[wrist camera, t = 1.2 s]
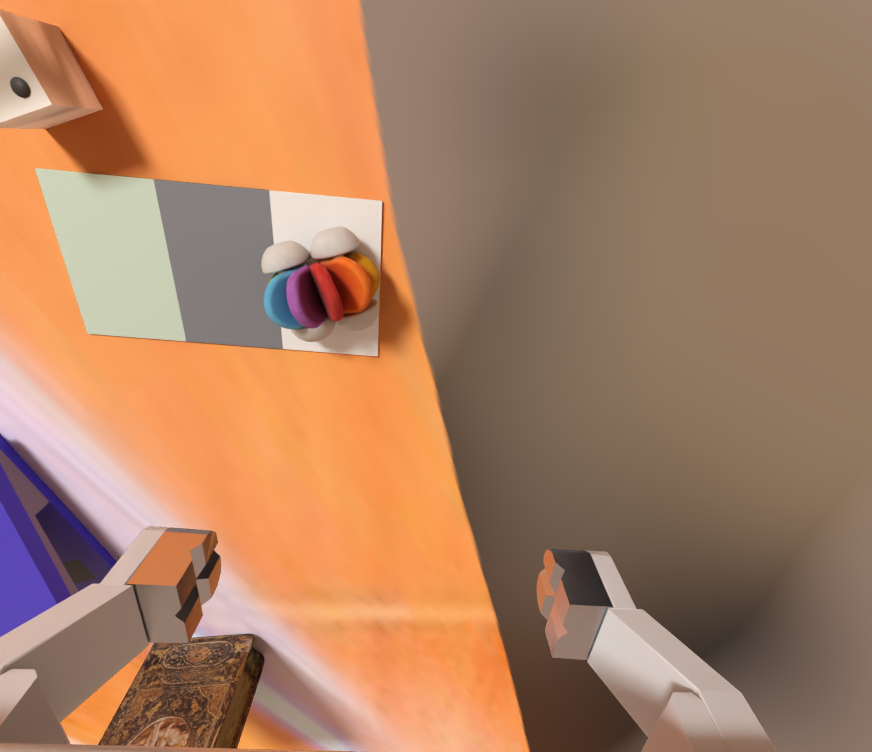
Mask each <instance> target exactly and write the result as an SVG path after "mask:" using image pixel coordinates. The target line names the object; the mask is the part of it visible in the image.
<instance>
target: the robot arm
mask: <svg viewBox="0 0 872 752" xmlns="http://www.w3.org/2000/svg"><path fill="white" fill-rule="evenodd" d="M217 544H218V540H217V535H216V532H214V531H208V530H195V529H183V528H166V527H153V526H149V527H147V528H145V529H144V530H142V531H141V532H140V534H139V535H138V536H137V537H136V539H135V540H134V541H133V542H132V544H131V545H130V546H129V548H128V549H127V550H126V551H125V553H124V554H123V555H122V556H121V558H120V559H119V560H118V561H117V563H116V564H115V565H114V566H113V568H112V569H111V570H110V571H109V573H108V574H107V575H106V576H105V578H104V579H103V580H102V581H101V583H100V584H91V585H89V586H88V587H86V588H84V589H82V590H81V591H79V592H77V593H76V594H74V595H72V596H70V597H69V598H67V599H65V600H64V601H62V602H60V603H58V604H57V605H55V606H53V607H51V608H50V609H48V610H46V611H45V612H43V613H41V614H39V615H38V616H36V617H34V618H33V619H31V620H29V621H27V622H26V623H24V624H22V625H20V626H19V627H17V628H15V629H14V630H12V631H10V632H8V633H7V634H5V635H3V636H2V637H0V752H353V751H312V750H271V749H231V748H191V747H152V746H112V745H72V744H70V742H69V740H68V738H67V735H66V733H65V731H64V729H63V727H62V725H61V723H60V722H61V721H62V720H63V719H65V718H66V717H67V716H68V715H69V714H70V713H71V712H73V711H74V710H75V709H76V708H77V707H78V706H79V705H81V704H82V703H83V702H84V701H85V700H86V699H87V698H89V697H90V696H91V695H92V694H93V693H94V692H95V691H97V690H98V689H99V688H100V687H101V686H102V685H103V684H105V683H106V682H107V681H108V680H109V679H110V678H112V677H113V676H114V675H115V674H116V673H117V672H118V671H120V670H121V669H122V668H123V667H124V666H125V665H126V664H128V663H129V662H130V661H131V660H132V659H133V658H134V657H136V656H137V655H138V654H139V653H140V652H141V651H142V650H144V649H145V648H146V647H147V646H148V645H149V643H189V641H190V639H191V637H192V635H193V634H194V632H195V630H196V628H197V626H198V624H199V622H200V620H201V618H202V616H203V614H202V608H201V605H203V604H204V603H205V602H207V601H208V600H209V599H211V598H212V596H213V594H214V592H215V590H216V587H217V585H218V581H219V577H220V574H221V559H220V556H219V555H218V554H217V553H216V552H215V551H214V549H215V547H216V545H217ZM543 562H544V565H545V569H544V570H542V571H541V572H540V573H539V577H538V581H537V599H538V604H539V609H540V613H541V614H542V615H543V616H544V617H545V618H546V619H547V620H548V622H547V625H546V629H545V632H546V636H547V639H548V643H549V647H550V651H551V654H552V657H554V658H568V659H583V660H588V661H587V662H588V663H589V665H590V666H591V667H592V668H593V669H594V671H595V672H596V673H597V674H598V676H599V677H600V678H601V679H602V681H603V682H604V683H605V684H606V686H607V687H608V688H609V689H610V691H611V692H612V693H613V694H614V695H615V697H616V698H617V699H618V701H619V702H620V703H621V704H622V706H623V707H624V708H625V709H626V711H627V712H628V713H629V714H630V715H631V717H632V718H633V719H634V720H635V722H636V723H637V724H638V725H639V727H640V728H641V729H642V730H643V732H644V733H645V734H646V735H647V737H648V740H647V742H646V744H645V745H644V747H643V749H642V751H641V752H777V751H776V750H775V748H774V746H773V744H772V743H771V741H770V740H769V738H768V736H767V734H766V733H765V731H764V730H763V728H762V726H761V725H760V723H759V721H758V720H757V718H756V716H755V715H754V713H753V711H752V710H751V708H750V706H749V705H748V703H747V702H746V700H745V698H744V697H743V695H742V693H741V692H739V691H738V690H737V689H736V688H735V687H733V686H732V685H731V684H730V683H729V682H728V681H727V680H725V679H724V678H723V677H722V676H721V675H719V674H718V673H717V672H716V671H715V670H713V669H712V668H711V667H710V666H709V665H708V664H706V663H705V662H704V661H703V660H702V659H701V658H699V657H698V656H697V655H696V654H695V653H693V652H692V651H691V650H690V649H689V648H688V647H686V646H685V645H684V644H683V643H682V642H680V641H679V640H678V639H677V638H676V637H675V636H673V635H672V634H671V633H670V632H669V631H667V630H666V629H665V628H664V627H663V626H662V625H660V624H659V623H658V622H657V621H656V620H655V619H653V618H652V617H651V616H650V615H649V614H647V613H646V612H645V611H644V610H642V609H636V607H635V605H634V603H633V601H632V599H631V597H630V595H629V592H628V590H627V588H626V587H625V584H624V582H623V580H622V578H621V576H620V574H619V572H618V570H617V568H616V566H615V564H614V562H613V560H612V558H611V556H610V554H608V553H607V552H604V551H584V550H561V549H560V550H559V549H547V551H546V552H545V555H544V558H543Z"/></svg>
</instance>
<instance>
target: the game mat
mask: <svg viewBox="0 0 872 752" xmlns="http://www.w3.org/2000/svg"><path fill="white" fill-rule="evenodd" d="M35 170H36V174H37V177H38V180H39V183H40V186H41V189H42V192H43V196H44V199H45V202H46V205H47V208H48V211H49V214H50V218H51V221H52V224H53V227H54V230H55V233H56V236H57V240H58V243H59V246H60V249H61V252H62V255H63V258H64V262H65V265H66V268H67V271H68V274H69V277H70V280H71V283H72V287H73V290H74V293H75V296H76V299H77V302H78V305H79V309H80V312H81V315H82V318H83V321H84V324H85V327H86V331H87V334H97V335H110V336H123V337H136V338H149V339H162V340H174V341H187V342H200V343H213V344H226V345H238V346H251V347H264V348H277V349H290V350H303V351H315V352H328V353H341V354H354V355H367V356H378V336H379V314H378V317H377V319H376V321H375V322H374V323H373V324H372V325H371V326H370V327H368V328H366V329H363V330H359V331H351V330H347V329H345V328H343V327H342V326H341V325H339V324H338V323H337V321H336V323H335V327H334V329H333V331H332V333H331V334H330V335H329V336H328V337H326V338H325V339H322V340H320V341H317V342H307V341H303V340H301V339H299V338H298V337H296V336H295V335H294V334H293V333H292V331H291V329H286V328H283V327H280V326H278V325H277V324H275V323H274V322H273V321H272V320H271V319H270V318H269V317H268V316H267V314H266V311H265V308H264V294H265V290H266V288H267V285H268V283H269V281H270V280H271V278H272V277H273V275H274V274H275V273H271V274H264V273H263V271H262V266H261V262H262V257H263V254H264V252H265V250H266V249H267V248H268V247H270V246H272V245H275V244H278V243H280V242H284V241H294V242H297V243H299V244H301V245H302V246H303V247H305V248H306V249H307V251H308V252H309V253H310V255H311V244H312V241H313V238H314V237H315V235H316V234H317V233H318V232H320V231H323V230H326V229H329V228H333V227H339V226H341V227H345V228H347V229H349V230H350V231H352V232H353V233H354V234H355V235H356V237H357V238H358V240H359V241H360V246H359V247H358V248H356V249H354V250H352V251H350V252H357V253H360V254H363V255H365V256H366V257H368V258H369V259H370V260H371V261H372V262H373V263H374V264H375V265H376V267H377V269H378V271H379V274H380V266H381V231H382V201H378V200H368V199H357V198H347V197H336V196H325V195H315V194H304V193H294V192H283V191H273V190H262V189H252V188H241V187H231V186H220V185H209V184H199V183H188V182H178V181H167V180H157V179H146V178H136V177H125V176H115V175H104V174H94V173H83V172H72V171H62V170H51V169H41V168H35ZM350 252H348V253H350ZM315 262H317V263H319V262H318V261H316V260H315V259H313V258H312V256H311V258H310V259H308V260H307V261H306V262H305V263H308V264H309V265H311V264H313V263H315ZM372 299H375V300H377V301H378V302H379V301H380V283H379V287H378V290H377V292H376V293H375V295H374V296H373V297H372Z"/></svg>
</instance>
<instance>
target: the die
mask: <svg viewBox="0 0 872 752" xmlns="http://www.w3.org/2000/svg"><path fill="white" fill-rule="evenodd" d="M100 110H103V108H102V106H101V104H100V102H99V101H98V99H97V97H96V95H95V93H94V91H93V90H92V88H91V86H90V84H89V82H88V80H87V78H86V77H85V75H84V73H83V71H82V69H81V67H80V65H79V64H78V62H77V60H76V58H75V56H74V54H73V53H72V51H71V49H70V47H69V45H68V43H67V41H66V40H65V38H64V36H63V34H62V32H61V30H60V28H59V27H57V26H54V25H50V24H47V23H44V22H40V21H37V20H34V19H30V18H27V17H24V16H20V15H17V14H14V13H11V12H7V11H4V10H1V9H0V128H19V129H47V128H50V127H53V126H56V125H59V124H62V123H65V122H68V121H71V120H74V119H77V118H79V117H82V116H85V115H88V114H91V113H94V112H97V111H100Z"/></svg>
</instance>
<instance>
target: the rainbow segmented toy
mask: <svg viewBox="0 0 872 752" xmlns="http://www.w3.org/2000/svg"><path fill="white" fill-rule="evenodd" d="M359 246H360V241H359V240H358V238H357V237H356V235H355V234H354V233H353V232H352V231H350V230H349V229H347V228H345V227H341V226H339V227H333V228H329V229H326V230H323V231H320V232H318V233H317V234H316V235H315V237H314V238H313V241H312V244H311V255H310V253H309V252H308V251H307V249H306V248H305V247H303V246H302V245H301V244H299V243H297V242H294V241H284V242H280V243H278V244H275V245H272V246H270V247H268V248H267V249H266V250H265V252H264V254H263V257H262V262H261V266H262V271H263V273H264V274H271V273H275V274H274V275H273V277H272V278H271V280H270V281H269V283H268V285H267V288H266V290H265V294H264V308H265V311H266V314H267V316H268V317H269V318H270V319H271V320H272V321H273V322H274V323H275V324H277V325H278V326H280V327H283V328H286V329H291V331H292V333H293V334H294V335H295V336H296V337H298V338H299V339H301V340H303V341H307V342H317V341H320V340H322V339H325V338H326V337H328V336H329V335H330V334H331V333H332V331H333V329H334V327H335V323H336V321H337V323H338V324H339V325H341V326H342V327H343V328H345V329H347V330H351V331H359V330H363V329H366V328H368V327H370V326H371V325H372V324H373V323H374V322H375V321H376V319H377V317H378V314H379V302H378V301H377V300H375V299H372V297H373V296H374V295H375V293H376V292H377V290H378V287H379V283H380V274H379V271H378V269H377V267H376V265H375V264H374V263H373V262H372V261H371V260H370V259H369V258H368V257H366V256H365V255H363V254H360V253H357V252H350V251H352V250H354V249H356V248H358V247H359ZM348 252H350V253H348ZM311 256H312V258H313V259H315V260H316V261H318V262H319V263H317V262H315V263H313V264H311V265H309V264H308V263H305V262H306V261H307V260H308V259H310V258H311Z"/></svg>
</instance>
